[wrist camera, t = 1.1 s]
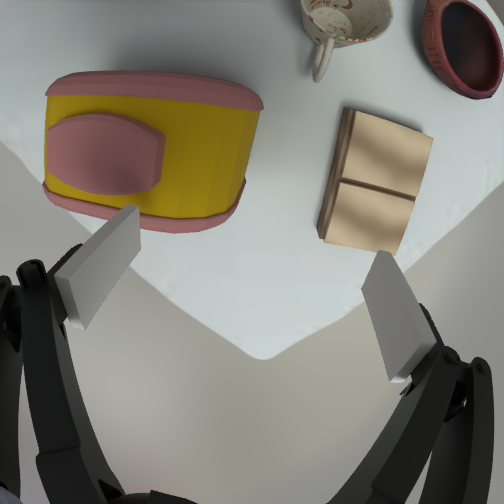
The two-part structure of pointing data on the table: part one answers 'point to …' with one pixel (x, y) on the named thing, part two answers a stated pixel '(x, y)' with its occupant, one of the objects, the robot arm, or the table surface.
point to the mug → (342, 25)
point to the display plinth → (372, 183)
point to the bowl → (462, 47)
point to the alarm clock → (149, 146)
